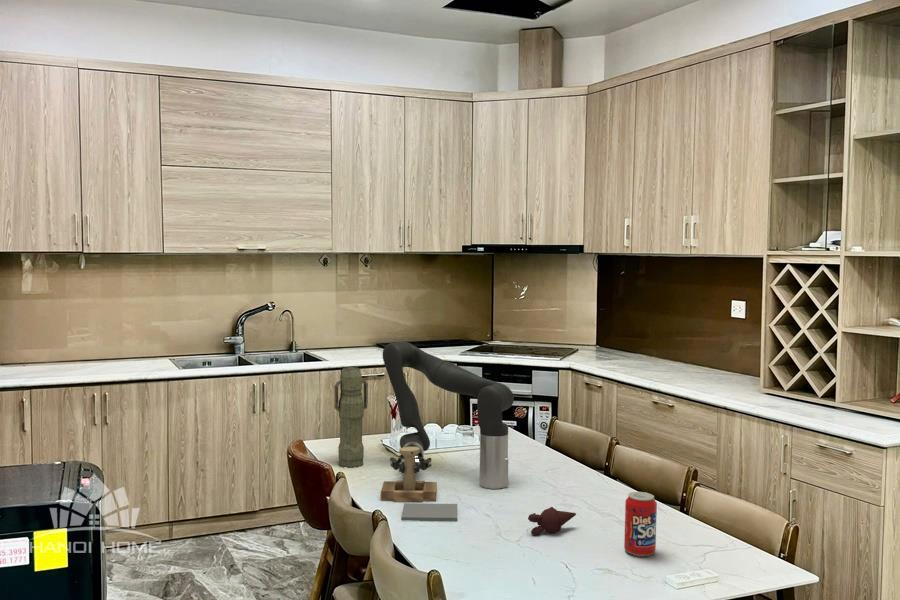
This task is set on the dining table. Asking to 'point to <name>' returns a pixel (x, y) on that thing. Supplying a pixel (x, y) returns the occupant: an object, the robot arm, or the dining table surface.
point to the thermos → (351, 416)
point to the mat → (429, 512)
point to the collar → (408, 492)
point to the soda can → (640, 524)
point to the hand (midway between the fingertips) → (409, 470)
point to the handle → (409, 467)
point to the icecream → (549, 520)
